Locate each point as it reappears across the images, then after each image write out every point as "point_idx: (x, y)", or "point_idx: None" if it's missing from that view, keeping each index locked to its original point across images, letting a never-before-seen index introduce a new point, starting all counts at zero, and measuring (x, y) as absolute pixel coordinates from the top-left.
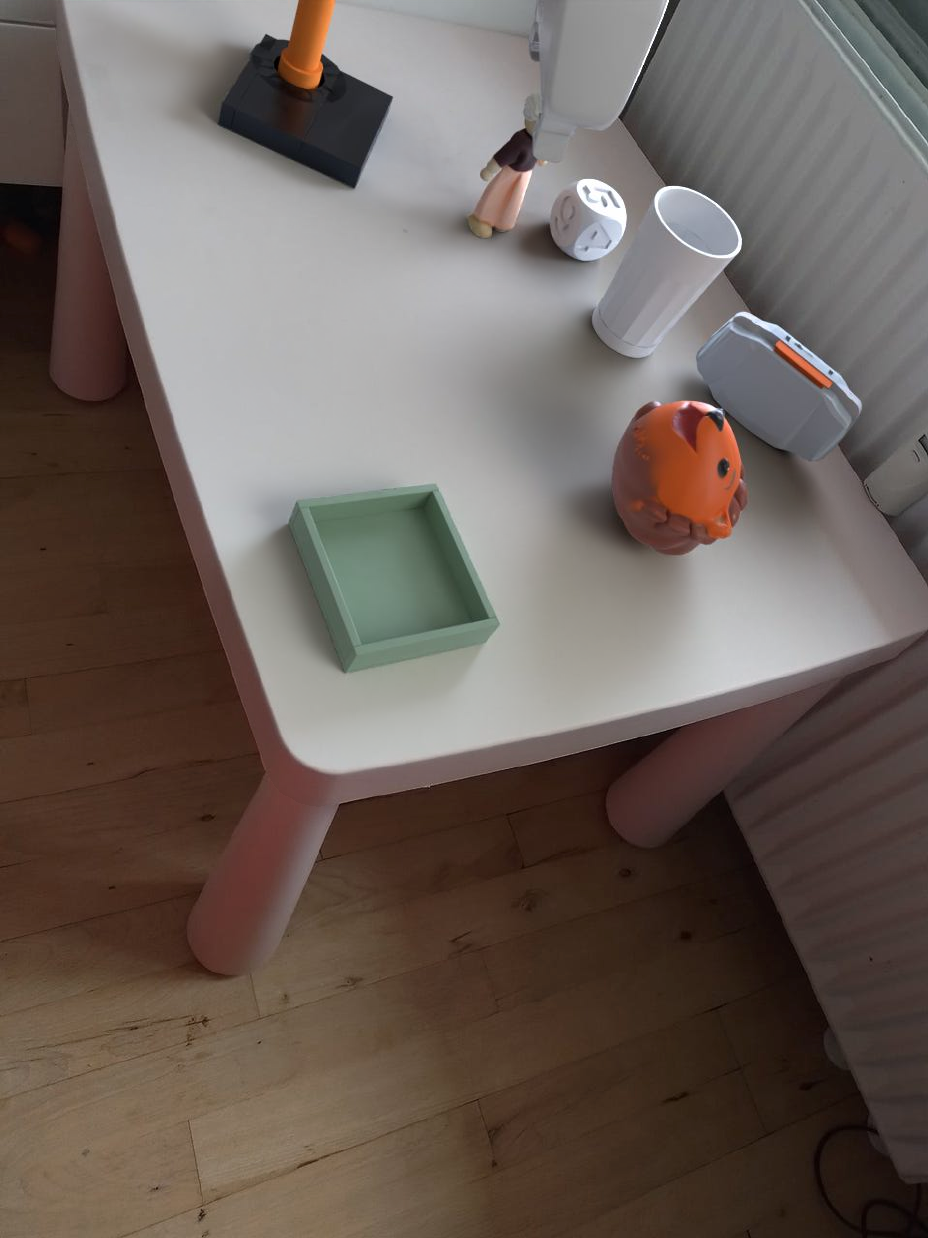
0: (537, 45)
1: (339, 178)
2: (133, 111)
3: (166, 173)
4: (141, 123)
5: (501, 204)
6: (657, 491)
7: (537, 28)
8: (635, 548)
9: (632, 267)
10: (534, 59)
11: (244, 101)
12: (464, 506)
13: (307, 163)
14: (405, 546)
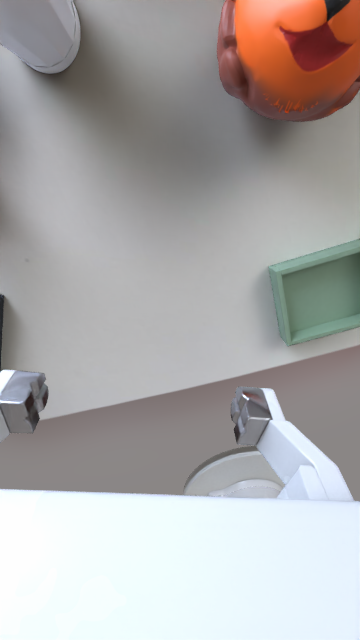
0: (37, 408)
1: (2, 306)
2: None
3: (60, 391)
4: None
5: None
6: (342, 93)
7: (25, 431)
8: None
9: (21, 37)
10: (47, 392)
11: None
12: (269, 239)
13: (1, 326)
14: (301, 282)
